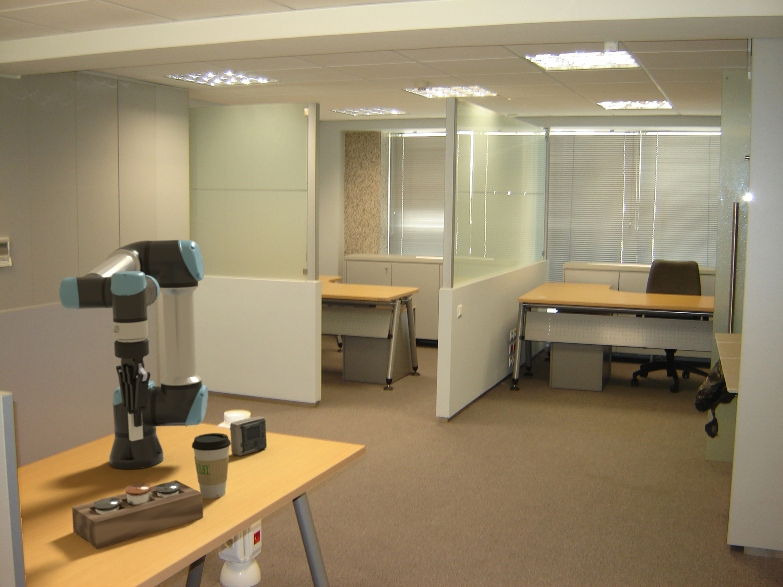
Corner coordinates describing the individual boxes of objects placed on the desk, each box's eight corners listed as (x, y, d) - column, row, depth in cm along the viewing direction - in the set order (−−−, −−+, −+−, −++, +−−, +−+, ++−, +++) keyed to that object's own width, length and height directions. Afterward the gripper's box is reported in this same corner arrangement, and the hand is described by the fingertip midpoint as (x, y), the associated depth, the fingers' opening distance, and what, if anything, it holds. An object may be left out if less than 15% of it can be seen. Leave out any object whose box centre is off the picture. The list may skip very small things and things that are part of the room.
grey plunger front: (91, 530, 185) (89, 501, 184) (115, 524, 188) (113, 495, 188) (101, 537, 180) (100, 508, 180) (125, 530, 184) (124, 502, 184)
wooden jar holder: (73, 532, 186) (72, 506, 185) (176, 503, 203) (175, 480, 202) (96, 549, 176) (95, 522, 175) (203, 517, 193) (202, 493, 193)
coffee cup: (196, 488, 214) (194, 433, 212) (234, 486, 215) (232, 431, 213) (190, 501, 204) (188, 443, 203) (230, 500, 205) (228, 442, 203)
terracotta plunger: (122, 515, 189) (121, 487, 189) (145, 509, 193) (143, 481, 192) (133, 521, 185) (131, 493, 185) (155, 515, 189) (154, 487, 188)
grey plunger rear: (152, 513, 195) (151, 486, 194) (174, 507, 198) (172, 480, 198) (163, 519, 191) (162, 492, 190) (185, 513, 194) (184, 486, 194)
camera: (258, 445, 252) (257, 414, 251) (270, 449, 248) (269, 417, 247) (227, 454, 244) (226, 421, 243) (239, 458, 240) (238, 425, 239)
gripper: (103, 337, 187) (108, 436, 190) (128, 344, 178) (133, 449, 180) (134, 333, 192) (138, 430, 195) (159, 340, 183) (164, 441, 186)
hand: (136, 439), depth 188 cm, fingers closed
